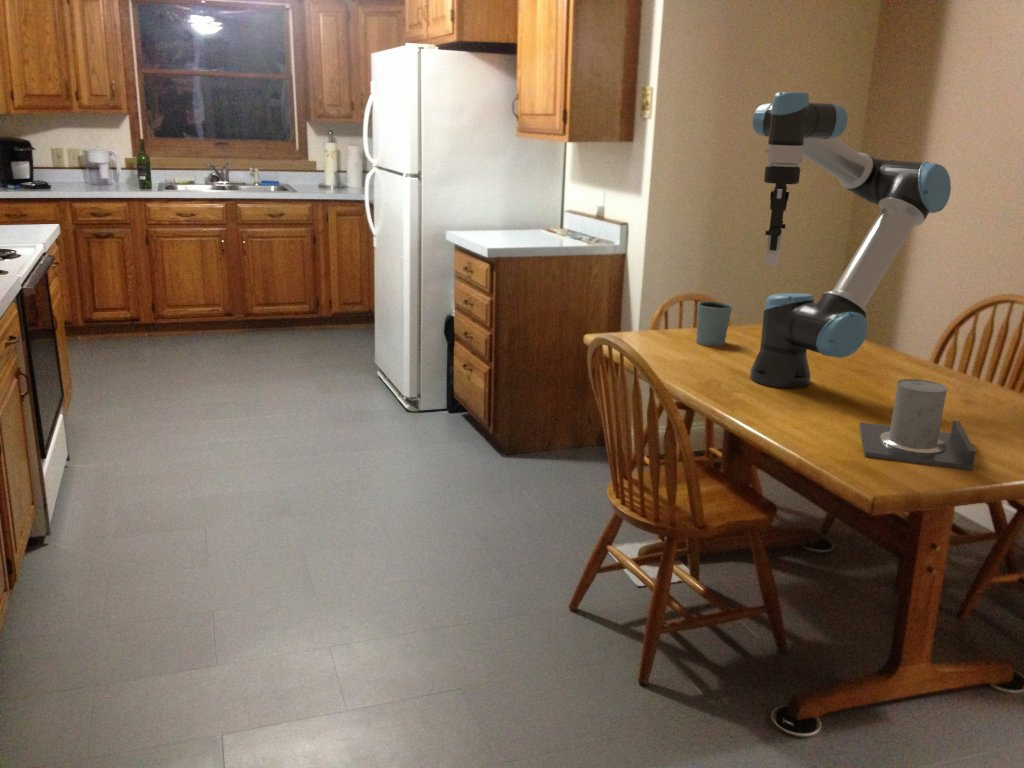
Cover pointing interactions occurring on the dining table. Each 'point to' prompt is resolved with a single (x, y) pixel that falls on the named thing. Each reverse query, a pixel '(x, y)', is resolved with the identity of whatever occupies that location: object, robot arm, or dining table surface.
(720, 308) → the blue grey cup
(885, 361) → the dining table surface
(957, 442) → the plate
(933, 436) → the speckled tin can
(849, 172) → the robot arm
